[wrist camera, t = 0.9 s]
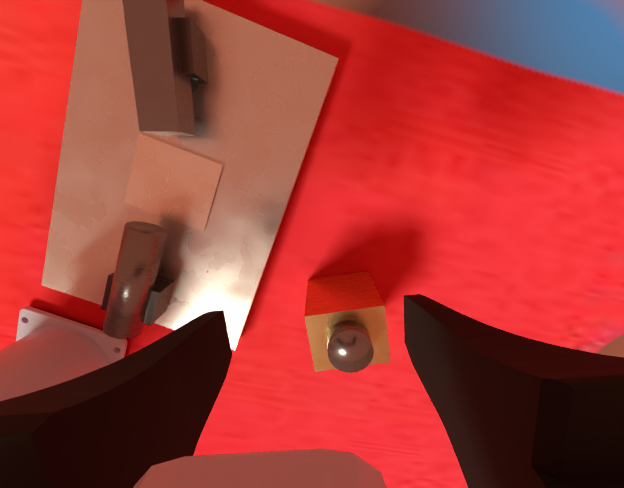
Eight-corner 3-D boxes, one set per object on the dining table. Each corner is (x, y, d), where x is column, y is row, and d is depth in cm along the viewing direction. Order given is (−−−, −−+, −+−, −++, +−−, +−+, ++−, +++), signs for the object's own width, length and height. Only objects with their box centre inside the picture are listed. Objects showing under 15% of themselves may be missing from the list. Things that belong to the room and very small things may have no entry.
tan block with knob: (373, 315, 22) (395, 376, 16) (315, 323, 22) (314, 386, 16) (368, 270, 21) (389, 316, 15) (308, 279, 21) (303, 328, 15)
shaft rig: (240, 338, 23) (220, 380, 18) (60, 277, 22) (-7, 305, 17) (337, 66, 18) (343, 34, 13) (109, -29, 17) (33, -100, 12)
